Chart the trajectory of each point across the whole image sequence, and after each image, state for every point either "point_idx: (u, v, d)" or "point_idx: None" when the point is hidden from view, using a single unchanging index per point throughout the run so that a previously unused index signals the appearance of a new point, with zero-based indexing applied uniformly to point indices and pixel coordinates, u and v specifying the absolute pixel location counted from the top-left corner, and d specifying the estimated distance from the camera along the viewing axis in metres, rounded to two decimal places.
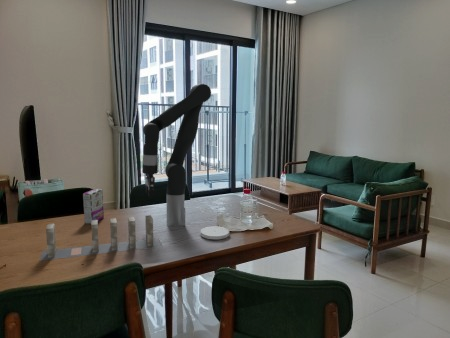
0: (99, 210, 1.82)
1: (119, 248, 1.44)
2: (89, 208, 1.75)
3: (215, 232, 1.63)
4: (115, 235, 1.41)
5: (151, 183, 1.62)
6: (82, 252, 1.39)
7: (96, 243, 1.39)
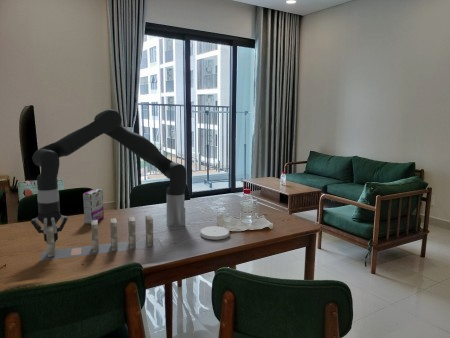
0: (99, 210, 1.82)
1: (119, 248, 1.44)
2: (89, 208, 1.75)
3: (215, 232, 1.63)
4: (115, 235, 1.41)
5: (64, 224, 1.36)
6: (82, 252, 1.39)
7: (96, 243, 1.39)
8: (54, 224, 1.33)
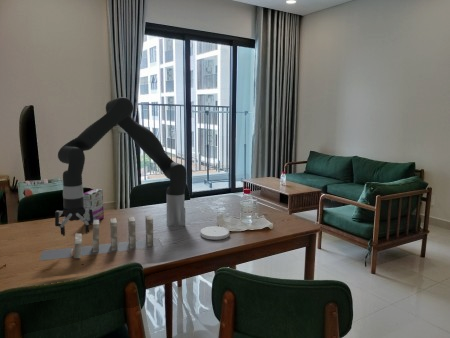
0: (99, 210, 1.82)
1: (119, 248, 1.44)
2: None
3: (215, 232, 1.63)
4: (115, 235, 1.41)
5: (92, 215, 1.39)
6: (82, 252, 1.39)
7: (96, 243, 1.39)
8: (82, 218, 1.37)
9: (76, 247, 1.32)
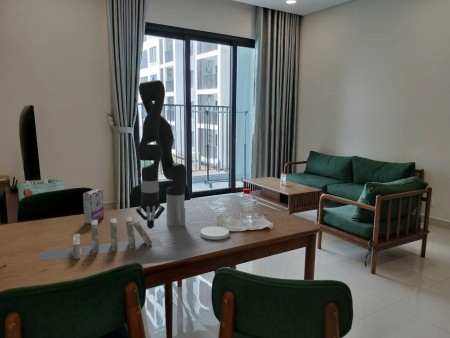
0: (99, 210, 1.82)
1: (119, 248, 1.44)
2: (89, 208, 1.75)
3: (215, 232, 1.63)
4: (115, 235, 1.41)
5: None
6: (82, 252, 1.39)
7: (96, 243, 1.39)
8: (153, 212, 1.47)
9: (74, 248, 1.32)
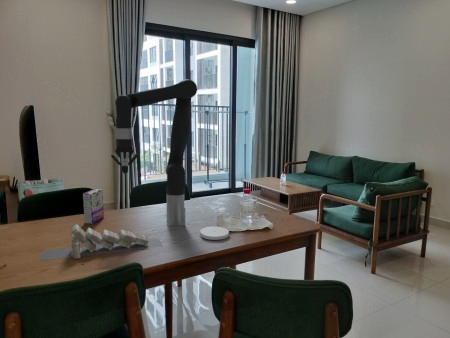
0: (99, 210, 1.82)
1: (119, 248, 1.44)
2: (89, 208, 1.75)
3: (215, 232, 1.62)
4: (99, 239, 1.39)
5: None
6: (82, 252, 1.39)
7: (88, 243, 1.38)
8: (127, 158, 1.62)
9: (73, 248, 1.32)
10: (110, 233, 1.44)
